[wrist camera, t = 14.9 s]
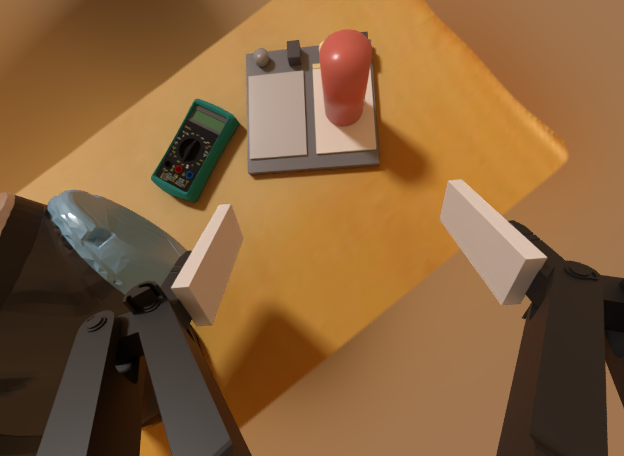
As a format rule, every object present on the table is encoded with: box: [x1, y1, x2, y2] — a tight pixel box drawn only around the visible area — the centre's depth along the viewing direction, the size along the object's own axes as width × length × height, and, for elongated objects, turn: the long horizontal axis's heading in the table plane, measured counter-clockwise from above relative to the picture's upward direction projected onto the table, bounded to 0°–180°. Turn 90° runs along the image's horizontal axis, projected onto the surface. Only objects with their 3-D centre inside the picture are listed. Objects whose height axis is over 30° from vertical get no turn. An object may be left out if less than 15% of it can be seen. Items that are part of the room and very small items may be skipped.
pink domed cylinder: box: [319, 29, 372, 127], centre depth 31 cm, size 6×6×10 cm
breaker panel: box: [246, 32, 380, 175], centre depth 37 cm, size 19×19×3 cm
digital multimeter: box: [151, 99, 239, 202], centre depth 38 cm, size 7×15×3 cm, turn 152°
